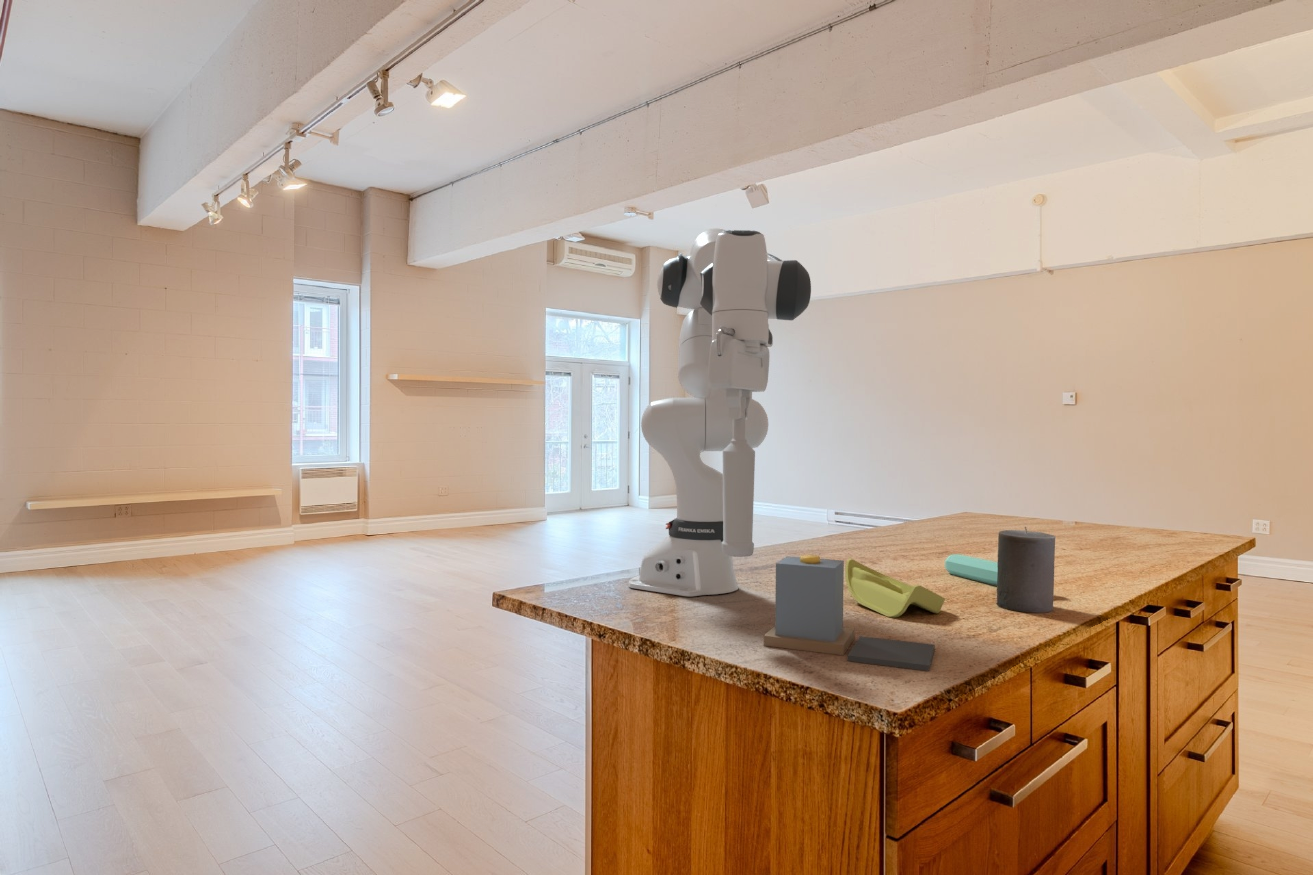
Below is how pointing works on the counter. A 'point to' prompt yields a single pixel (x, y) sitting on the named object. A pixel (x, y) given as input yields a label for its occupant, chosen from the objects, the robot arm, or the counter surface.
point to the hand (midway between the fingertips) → (739, 419)
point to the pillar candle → (1025, 571)
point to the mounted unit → (810, 606)
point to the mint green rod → (972, 568)
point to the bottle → (738, 492)
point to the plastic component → (887, 591)
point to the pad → (892, 653)
